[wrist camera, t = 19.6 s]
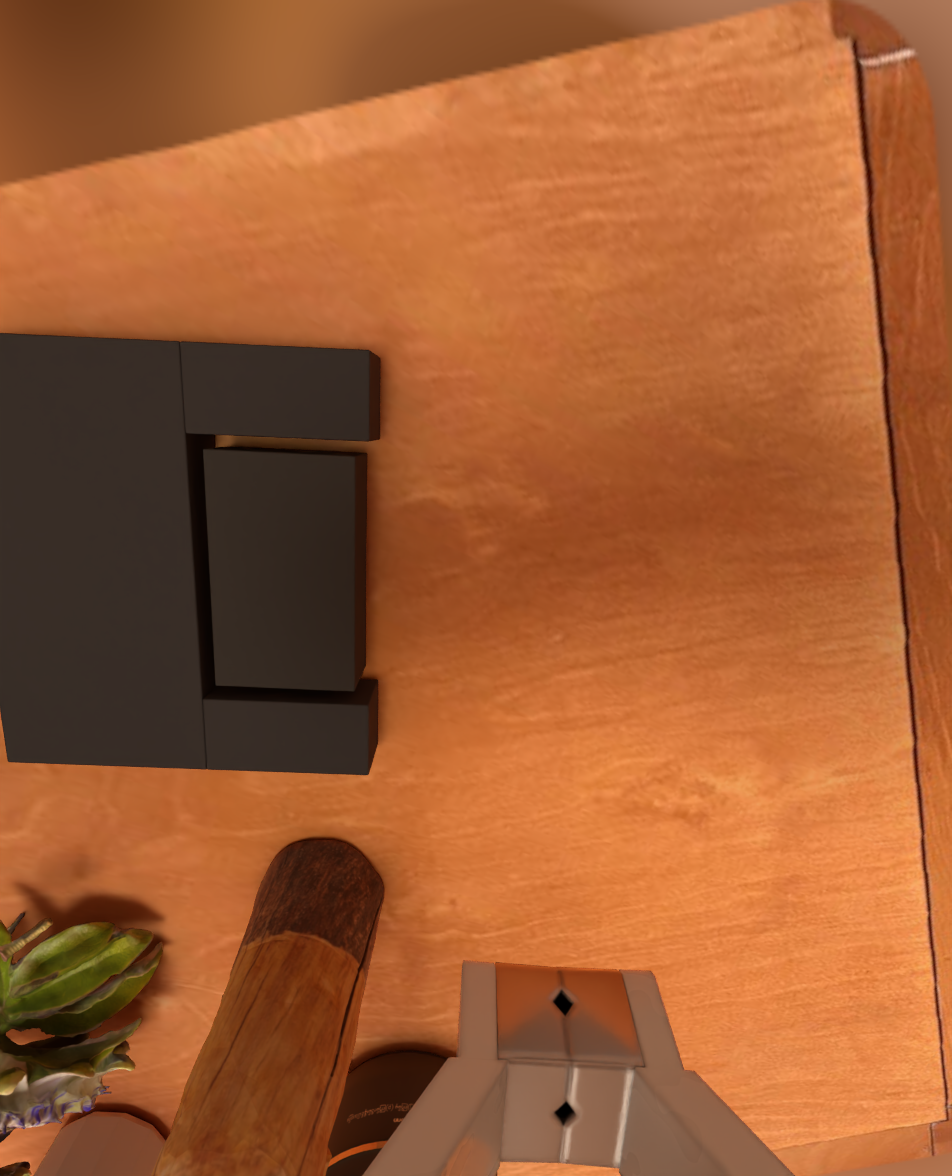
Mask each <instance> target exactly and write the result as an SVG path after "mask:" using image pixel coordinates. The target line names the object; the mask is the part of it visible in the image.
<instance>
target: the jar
mask: <svg viewBox="0 0 952 1176" xmlns="http://www.w3.org/2000/svg"><path fill="white" fill-rule="evenodd" d="M446 1060H447V1059H446V1058H444V1057H442V1056H439V1055H436V1054H432V1053H428V1052H422V1051H396V1052H390V1053H386V1054H382V1055H379V1056H377V1057H374V1058H372V1059H370V1060H368V1061H366V1062H364V1063H363V1064H361V1065H360V1066H359V1067H357V1068H356V1069H355V1070H353V1071H352V1072H351V1073H350V1074H349V1075H347V1077H346V1082H345V1087H344V1092H343V1096H342V1100H341V1103H340V1106H339V1109H338V1112H337V1116H336V1119H335V1122H334V1125H333V1129H332V1132H331V1135H330V1138H329V1141H328V1148H329V1150H330V1152H331V1155H332V1157H331V1160H330V1163H329V1166H328V1168H327V1171H326V1176H362V1175H363V1174H364V1173H365V1171H366V1170H367V1169H368V1167H369V1166H370V1164H371V1163H372V1162H373V1160H374V1159H375V1158H376V1156H377V1155H378V1153H379V1152H380V1151H381V1149H382V1148H383V1147H384V1145H385V1144H386V1143H387V1141H388V1140H389V1138H390V1137H391V1136H392V1134H393V1133H394V1132H395V1130H396V1129H397V1127H398V1126H399V1125H400V1123H401V1122H402V1121H403V1119H404V1118H405V1117H406V1115H407V1114H408V1112H409V1111H410V1110H411V1108H412V1107H413V1106H414V1104H415V1103H416V1101H417V1100H418V1099H419V1097H420V1096H421V1095H422V1093H423V1092H424V1090H425V1089H426V1088H427V1086H428V1085H429V1084H430V1082H431V1081H432V1080H433V1078H434V1077H435V1075H436V1074H437V1073H438V1071H439V1070H440V1069H441V1067H442V1066H443V1064H444V1063H445V1062H446ZM495 1176H497V1173H496V1175H495Z"/></svg>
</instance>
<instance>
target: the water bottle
mask: <svg viewBox="0 0 952 1176" xmlns="http://www.w3.org/2000/svg"><path fill="white" fill-rule="evenodd" d="M165 1142H166V1140H165V1139H164V1138H163V1137H162V1136H161V1134H160V1133H159V1132H158V1131H157V1130H156V1129H155V1127H154V1126H153V1125H152V1124H150V1123H147V1122H145V1121H143V1120H141V1119H138V1118H136V1117H134V1116H132V1115H129V1114H127V1113H116V1112H97V1111H95V1112H93V1113H91V1114H89V1115H86V1116H84V1117H82V1118H80V1119H78V1120H76V1121H73V1122H71V1123H70V1124H68V1125H66V1126H65V1127H63V1128H62V1129H61V1130H60V1132H59V1134H58V1135H57V1137H56V1139H55V1141H54V1142H53V1144H52V1146H51V1147H50V1149H49V1151H48V1152H47V1154H46V1156H45V1157H44V1159H43V1161H42V1163H41V1164H40V1166H39V1168H38V1169H37V1171H36V1173H35V1175H34V1176H151V1175H152V1172H153V1169H154V1167H155V1164H156V1161H157V1159H158V1156H159V1153H160V1151H161V1149H162V1147H163V1145H164V1143H165Z"/></svg>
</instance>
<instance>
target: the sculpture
mask: <svg viewBox="0 0 952 1176" xmlns="http://www.w3.org/2000/svg"><path fill="white" fill-rule="evenodd" d="M383 899H384V887H383V884H382V881H381V878H380V876H379V874H378V873H377V872H376V871H375V870H374V869H373V867H372V866H371V865H370V864H369V862H368V861H367V860H366V859H365V858H364V856H363V855H362V854H361V853H360V852H358V851H357V850H355V849H354V848H352V847H351V846H350V845H348V844H346V843H343V842H340V841H338V840H308V841H302V842H298V843H296V844H293V845H291V846H288V847H286V848H285V849H284V850H283V851H282V852H280V853H279V854H278V855H277V856H276V857H275V859H274V860H273V861H272V863H271V864H270V866H269V868H268V870H267V872H266V874H265V876H264V878H263V880H262V882H261V885H260V887H259V890H258V893H257V896H256V899H255V903H254V907H253V911H252V915H251V918H250V921H249V924H248V927H247V930H246V932H245V935H244V938H243V940H242V943H241V946H240V948H239V951H238V954H237V956H236V959H235V962H234V964H233V967H232V970H231V974H230V979H229V982H228V985H227V987H226V990H225V992H224V994H223V996H222V1000H221V1004H220V1007H219V1010H218V1012H217V1015H216V1017H215V1019H214V1022H213V1025H212V1028H211V1031H210V1033H209V1035H208V1037H207V1039H206V1041H205V1043H204V1045H203V1047H202V1049H201V1051H200V1053H199V1056H198V1058H197V1060H196V1062H195V1065H194V1067H193V1069H192V1071H191V1074H190V1076H189V1078H188V1081H187V1083H186V1086H185V1089H184V1092H183V1096H182V1099H181V1103H180V1106H179V1109H178V1112H177V1114H176V1117H175V1120H174V1122H173V1125H172V1129H171V1133H170V1135H169V1137H168V1138H167V1140H166V1142H165V1143H164V1145H163V1147H162V1149H161V1151H160V1153H159V1156H158V1159H157V1161H156V1164H155V1167H154V1169H153V1172H152V1175H151V1176H326V1171H327V1168H328V1166H329V1163H330V1160H331V1157H332V1155H331V1152H330V1150H329V1148H328V1141H329V1138H330V1135H331V1132H332V1129H333V1125H334V1122H335V1119H336V1116H337V1112H338V1109H339V1106H340V1103H341V1100H342V1096H343V1092H344V1087H345V1082H346V1077H347V1073H348V1069H349V1065H350V1062H351V1058H352V1054H353V1050H354V1046H355V1042H356V1033H357V1025H358V1017H359V1012H360V1007H361V1001H362V997H363V993H364V989H365V985H366V980H367V975H368V970H369V966H370V961H371V956H372V952H373V948H374V943H375V939H376V933H377V927H378V921H379V917H380V912H381V907H382V903H383Z"/></svg>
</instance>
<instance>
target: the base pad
mask: <svg viewBox="0 0 952 1176" xmlns="http://www.w3.org/2000/svg"><path fill="white" fill-rule="evenodd" d="M214 435H234V436H257V437H280V438H302V439H325V440H348V441H373V440H379V439H380V358H379V357H378V356H377V355H375V354H374V353H372V352H371V351H369V350H359V349H337V348H315V347H293V346H271V345H249V344H227V343H206V342H184V341H182V342H179V341H161V340H140V339H118V338H96V337H74V336H52V335H30V334H8V333H0V711H1V718H2V725H3V732H4V738H5V745H6V752H7V759H8V762H19V763H47V764H75V765H102V766H130V767H157V768H185V769H212V770H239V771H267V772H295V773H322V774H350V775H368V774H369V771H370V768H371V765H372V761H373V758H374V754H375V751H376V748H377V744H378V680H368V679H360V680H359V682H358V684H357V687H356V689H355V691H334V690H311V689H287V688H264V687H240V686H217V685H216V682H215V663H214V645H213V626H212V607H211V589H210V570H209V551H208V532H207V514H206V495H205V476H204V458H203V450H204V449H209V448H215V445H214Z"/></svg>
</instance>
